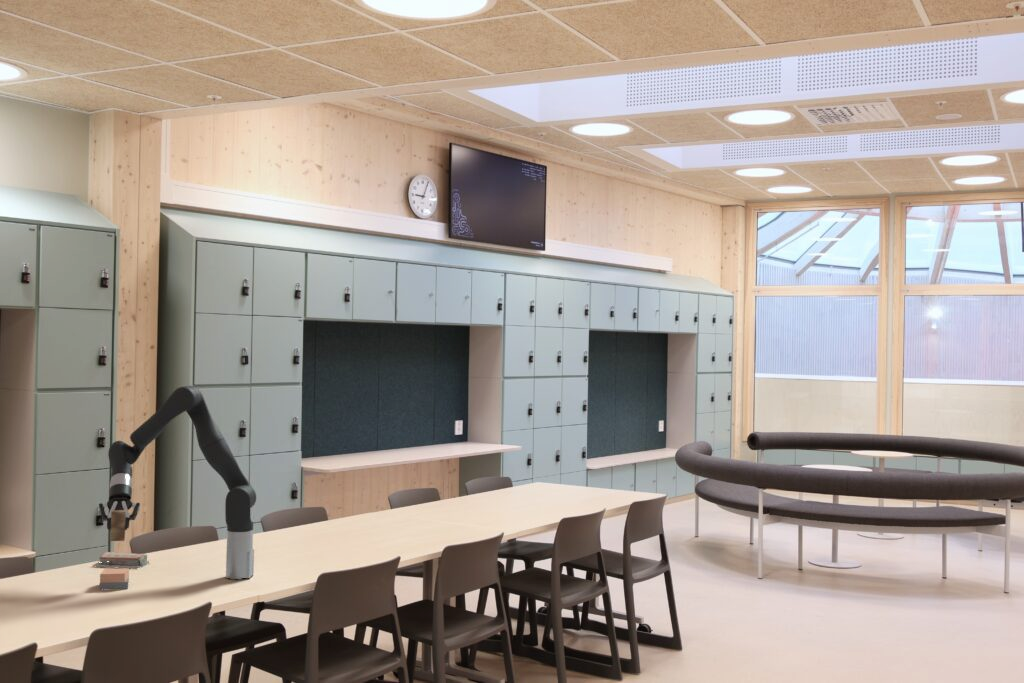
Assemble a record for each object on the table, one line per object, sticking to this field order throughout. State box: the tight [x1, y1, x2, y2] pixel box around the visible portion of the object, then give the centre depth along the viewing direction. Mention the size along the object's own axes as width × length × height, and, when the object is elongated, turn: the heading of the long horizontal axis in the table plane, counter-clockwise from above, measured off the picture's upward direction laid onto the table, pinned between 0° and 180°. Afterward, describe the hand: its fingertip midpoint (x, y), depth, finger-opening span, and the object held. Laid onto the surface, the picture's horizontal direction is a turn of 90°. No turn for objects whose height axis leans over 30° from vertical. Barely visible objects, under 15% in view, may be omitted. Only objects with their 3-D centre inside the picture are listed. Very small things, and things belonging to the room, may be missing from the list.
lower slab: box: [99, 576, 130, 591], centre depth 338 cm, size 9×9×3 cm
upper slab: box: [99, 568, 130, 584], centre depth 338 cm, size 8×8×3 cm
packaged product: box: [92, 551, 150, 569], centre depth 371 cm, size 18×5×10 cm
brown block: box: [110, 510, 126, 542], centre depth 339 cm, size 4×4×10 cm
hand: (117, 528), depth 337 cm, fingers closed on brown block, 4 cm apart
